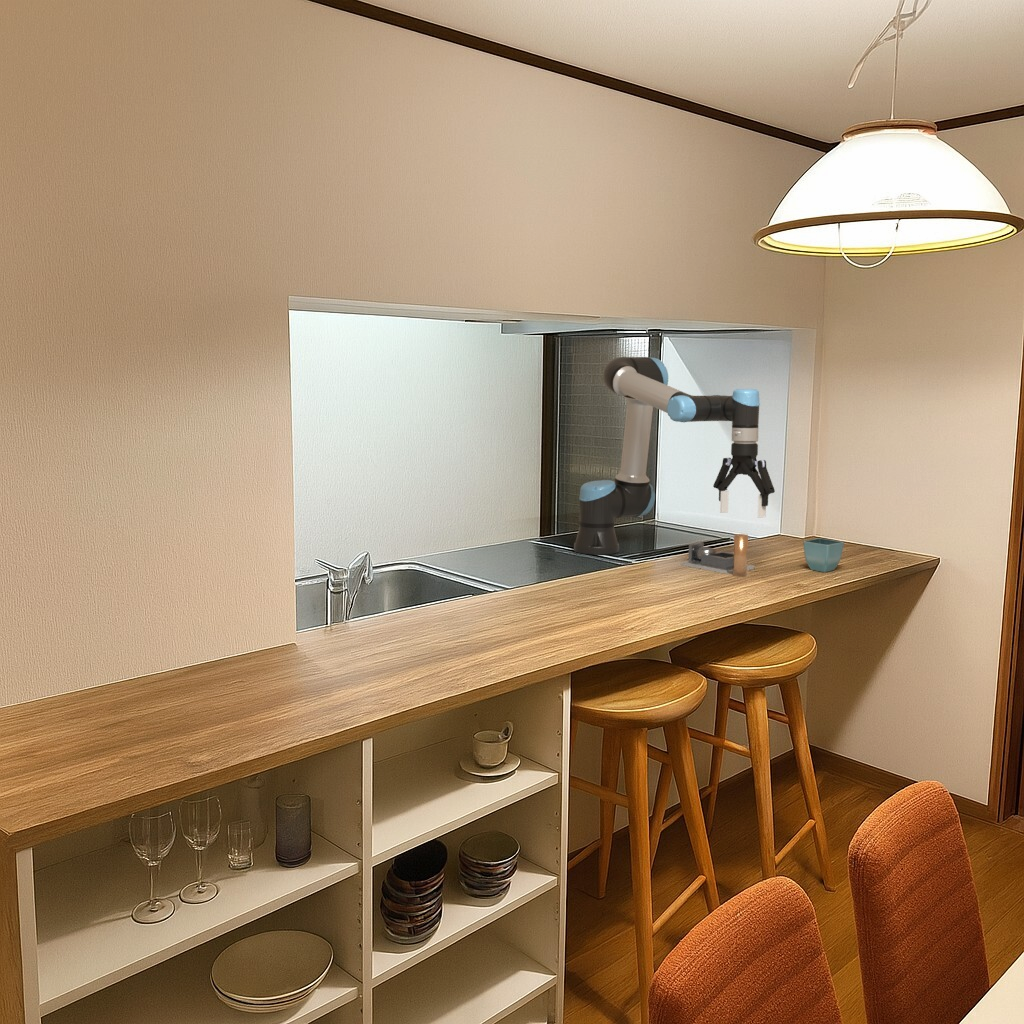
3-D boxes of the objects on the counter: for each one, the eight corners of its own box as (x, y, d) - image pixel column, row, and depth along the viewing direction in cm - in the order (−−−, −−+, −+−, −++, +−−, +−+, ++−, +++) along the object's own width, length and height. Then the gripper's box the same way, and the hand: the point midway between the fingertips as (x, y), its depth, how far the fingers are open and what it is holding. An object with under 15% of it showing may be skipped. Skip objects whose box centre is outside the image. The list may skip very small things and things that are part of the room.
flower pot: (826, 574, 290) (828, 544, 289) (801, 570, 297) (802, 540, 296) (843, 571, 296) (844, 541, 295) (817, 566, 303) (819, 538, 301)
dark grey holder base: (680, 564, 305) (680, 545, 304) (707, 559, 313) (708, 541, 312) (726, 573, 290) (727, 553, 290) (754, 568, 298) (755, 549, 298)
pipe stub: (729, 574, 289) (731, 534, 287) (738, 573, 291) (740, 533, 290) (740, 577, 286) (742, 536, 284) (749, 575, 288) (750, 535, 287)
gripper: (702, 441, 291) (701, 511, 293) (772, 445, 271) (769, 520, 274) (719, 440, 295) (717, 509, 298) (788, 444, 276) (786, 518, 279)
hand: (742, 515), depth 286 cm, fingers open, 13 cm apart
